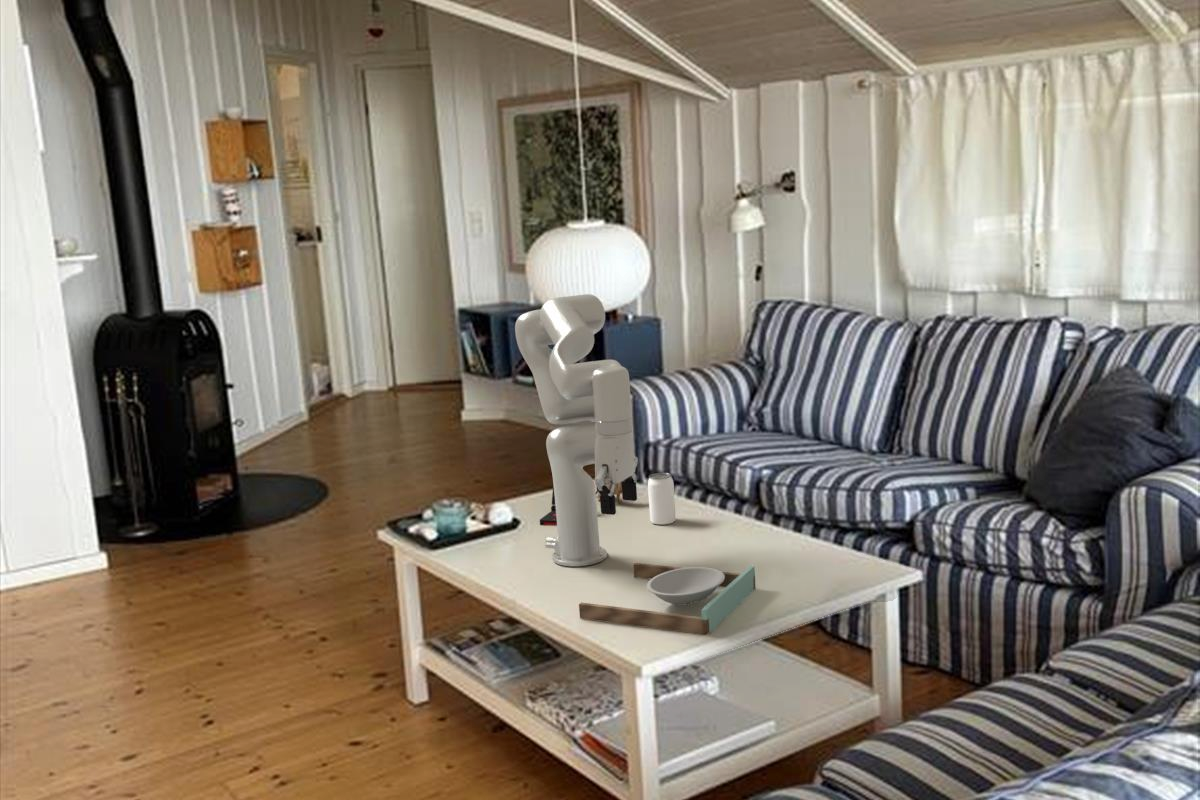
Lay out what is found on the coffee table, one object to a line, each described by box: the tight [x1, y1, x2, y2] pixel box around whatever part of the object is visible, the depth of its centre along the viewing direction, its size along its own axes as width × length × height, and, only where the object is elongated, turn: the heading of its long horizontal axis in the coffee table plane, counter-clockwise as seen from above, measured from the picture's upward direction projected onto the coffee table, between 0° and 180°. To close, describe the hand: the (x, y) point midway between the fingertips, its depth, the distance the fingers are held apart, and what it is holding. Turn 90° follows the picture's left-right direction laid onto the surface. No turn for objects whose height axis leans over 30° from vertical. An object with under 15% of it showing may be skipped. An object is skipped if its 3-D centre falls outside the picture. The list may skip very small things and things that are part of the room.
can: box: [647, 472, 677, 526], centre depth 305 cm, size 6×6×12 cm
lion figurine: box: [595, 480, 623, 504], centre depth 327 cm, size 15×5×9 cm, turn 41°
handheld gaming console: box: [539, 484, 557, 527], centre depth 314 cm, size 9×12×10 cm
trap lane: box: [578, 562, 756, 635], centre depth 250 cm, size 28×26×5 cm
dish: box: [646, 566, 725, 606], centre depth 249 cm, size 18×14×5 cm
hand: (619, 506), depth 251 cm, fingers open, 9 cm apart
